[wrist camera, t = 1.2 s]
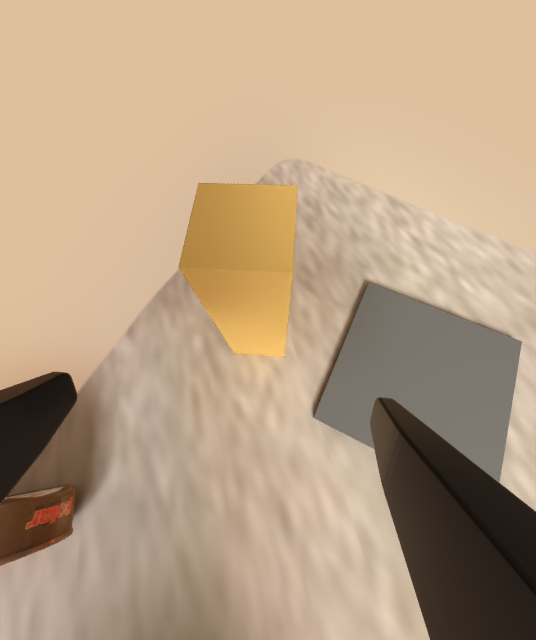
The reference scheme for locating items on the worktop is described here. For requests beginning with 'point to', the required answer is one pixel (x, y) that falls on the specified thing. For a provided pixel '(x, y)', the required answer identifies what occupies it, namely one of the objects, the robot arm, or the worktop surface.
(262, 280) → the ochre post
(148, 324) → the worktop surface
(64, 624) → the worktop surface
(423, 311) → the charcoal mat
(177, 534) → the worktop surface
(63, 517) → the tin
